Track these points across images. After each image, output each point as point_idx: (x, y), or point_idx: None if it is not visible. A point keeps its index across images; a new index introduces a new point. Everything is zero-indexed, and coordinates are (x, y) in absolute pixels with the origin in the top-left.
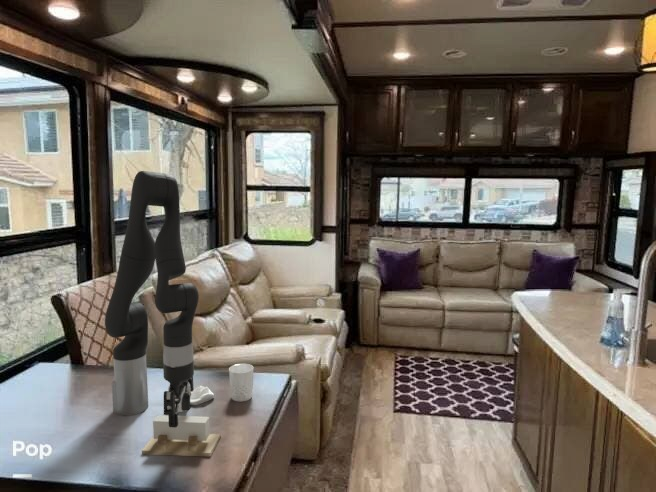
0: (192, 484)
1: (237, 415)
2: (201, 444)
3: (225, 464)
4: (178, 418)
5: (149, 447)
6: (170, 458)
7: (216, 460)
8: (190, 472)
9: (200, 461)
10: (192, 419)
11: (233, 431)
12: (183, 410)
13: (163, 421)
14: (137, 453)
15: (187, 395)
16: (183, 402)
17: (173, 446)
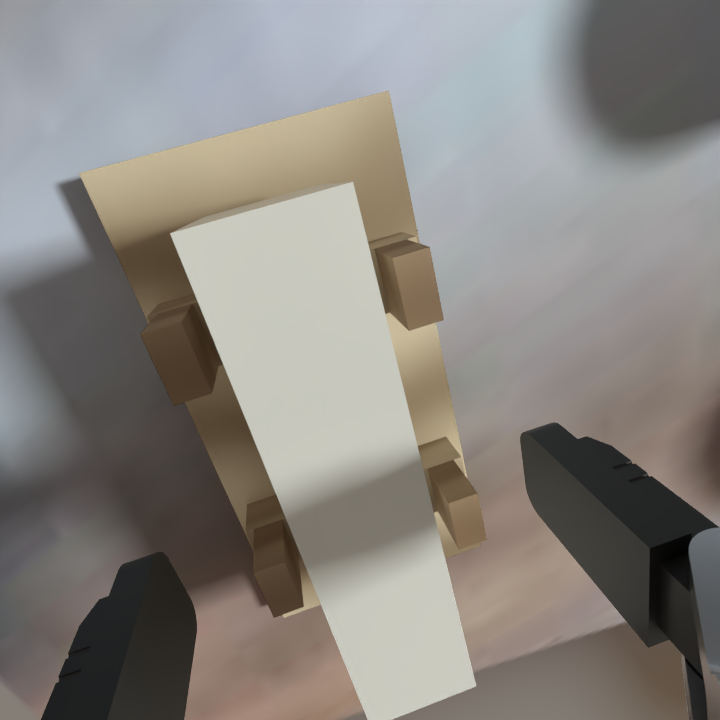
0: (20, 676)
1: (706, 469)
2: None
3: (253, 687)
4: (360, 490)
5: (150, 210)
6: (159, 418)
7: (264, 638)
8: None
9: (219, 583)
10: (390, 612)
11: (543, 547)
12: (522, 444)
13: (232, 379)
14: (79, 123)
15: (693, 663)
16: (591, 516)
17: None
